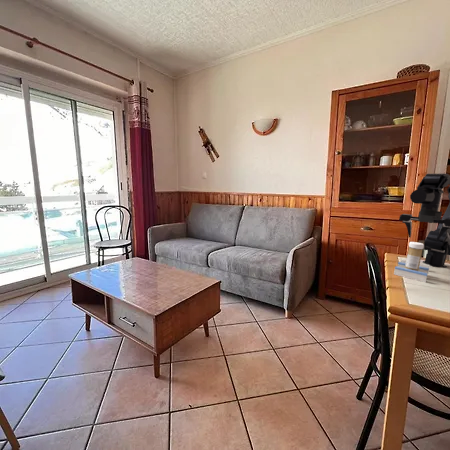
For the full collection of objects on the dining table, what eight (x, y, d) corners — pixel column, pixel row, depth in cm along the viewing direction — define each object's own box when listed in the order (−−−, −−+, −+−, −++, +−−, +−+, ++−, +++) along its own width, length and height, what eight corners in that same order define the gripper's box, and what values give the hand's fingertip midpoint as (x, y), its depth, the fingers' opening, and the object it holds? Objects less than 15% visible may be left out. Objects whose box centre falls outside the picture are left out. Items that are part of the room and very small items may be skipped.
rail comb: (400, 264, 110) (401, 257, 109) (428, 270, 103) (430, 263, 102) (393, 274, 96) (394, 267, 96) (425, 282, 90) (427, 274, 89)
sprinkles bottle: (419, 275, 96) (426, 243, 94) (414, 277, 94) (421, 244, 91) (406, 272, 100) (412, 240, 97) (401, 273, 97) (407, 242, 95)
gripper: (400, 202, 101) (393, 238, 104) (461, 207, 88) (452, 247, 91) (404, 201, 109) (397, 234, 112) (460, 205, 96) (452, 243, 99)
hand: (422, 239), depth 103 cm, fingers open, 9 cm apart
